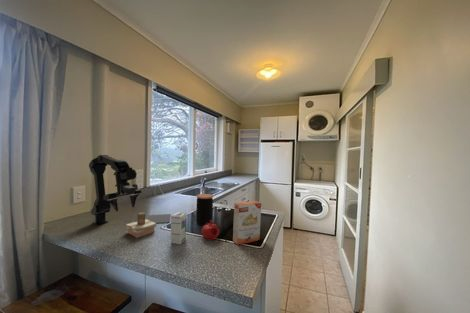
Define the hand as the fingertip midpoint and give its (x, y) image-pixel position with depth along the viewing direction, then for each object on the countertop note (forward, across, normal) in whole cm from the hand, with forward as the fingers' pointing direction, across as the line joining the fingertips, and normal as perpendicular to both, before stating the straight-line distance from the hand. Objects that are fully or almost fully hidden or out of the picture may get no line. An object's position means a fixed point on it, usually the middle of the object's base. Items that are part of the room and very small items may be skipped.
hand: (125, 209), depth 111 cm
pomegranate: (+24, +23, -38) cm, 50 cm away
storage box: (+15, +5, -3) cm, 16 cm away
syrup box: (+21, +10, -28) cm, 36 cm away
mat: (+12, +24, +6) cm, 28 cm away
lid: (+11, +6, -4) cm, 13 cm away
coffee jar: (+20, +38, -22) cm, 48 cm away
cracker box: (+28, +30, -56) cm, 70 cm away
